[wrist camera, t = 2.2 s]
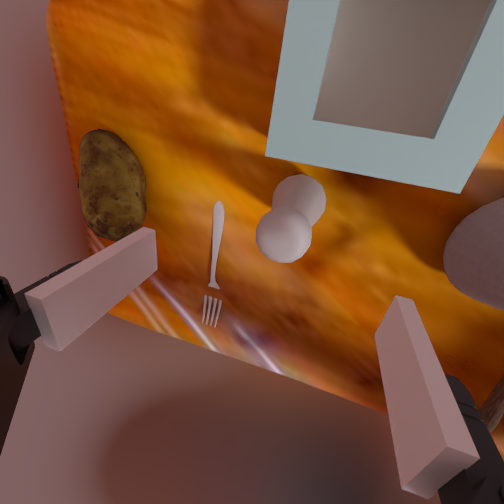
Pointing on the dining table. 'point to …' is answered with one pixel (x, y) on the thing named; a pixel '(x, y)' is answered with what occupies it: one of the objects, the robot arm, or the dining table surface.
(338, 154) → the drop box
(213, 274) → the fork
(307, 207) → the salt shaker
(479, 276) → the coffee pot
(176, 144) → the dining table surface
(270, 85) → the dining table surface
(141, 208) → the potato
